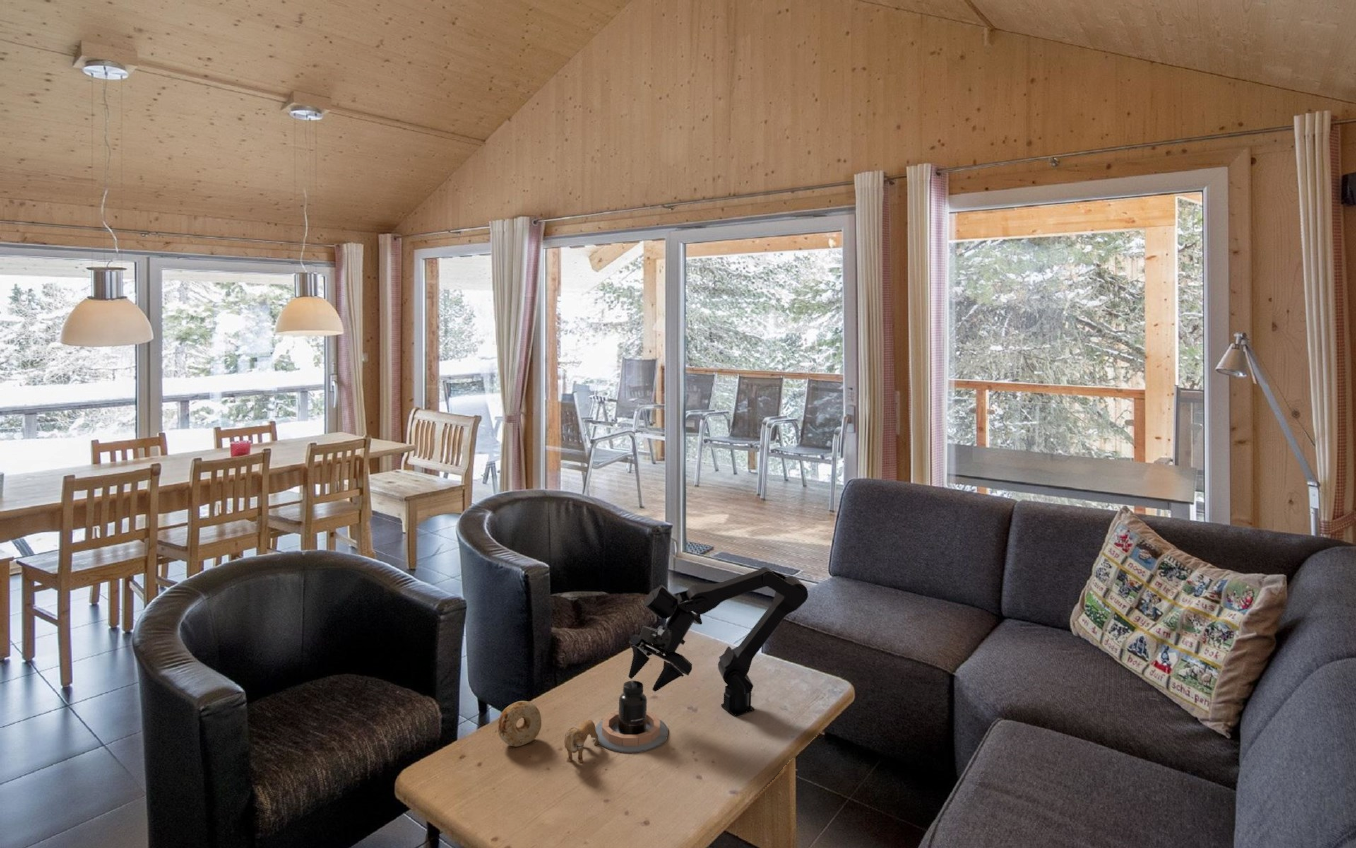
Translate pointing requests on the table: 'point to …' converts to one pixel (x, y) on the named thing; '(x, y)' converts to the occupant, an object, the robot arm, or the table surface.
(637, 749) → the ring tray
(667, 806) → the table surface
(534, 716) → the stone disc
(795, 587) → the robot arm
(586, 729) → the lion figurine
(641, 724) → the supplement bottle
